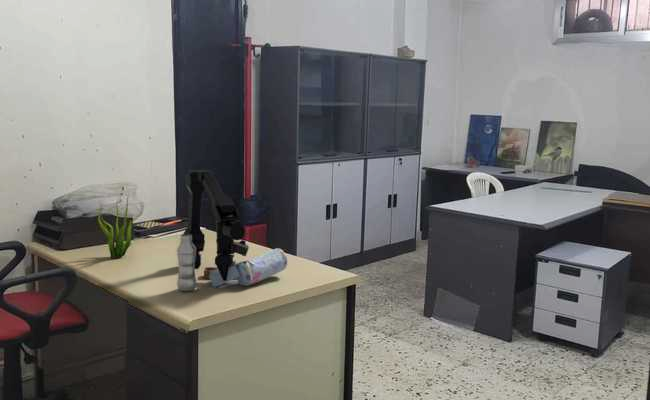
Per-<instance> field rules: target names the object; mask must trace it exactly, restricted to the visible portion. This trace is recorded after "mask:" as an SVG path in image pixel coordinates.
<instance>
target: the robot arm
mask: <svg viewBox="0 0 650 400" xmlns="http://www.w3.org/2000/svg"><path fill="white" fill-rule="evenodd" d="M184 182H185V186H186V188H187V190H188V192H189V195H188V197H189V198H188V215H187V218H188V219H187V227H186V229H185V230H184V232H183V233H182V235H183V234H191V235H192V241H191V242H192V243H193V244H194V246H195V247H196V256H195V269H199V268H200V266H201V265H202V254H201V252H204V248H205V245H206V244H205V243H206V241H205V236H206V235H205V234H204V233H203V231H202V230H201V220H202V219H201V218H202V217H201V216H202V202H203V201H202V200H203V193H204V192H205V191H206V193H207V195H208V197H209V198H210V200H211V203H212V206H211V210H212V214H213V216H214V218H215V219H213V220H214V222H215V224H216V226H215V229H216V241H215V243H216V255H215V258H214V265H215V267H217V268H218V270H219V272H220V274H221V276H222V278H223V280H224V281H226V280H227V275H228V269H229V267H230V266H231V265H232V264H233V261H234V257H235V254H237V255H241V256H243V257H246V256H247V255H248V251H249V245H248V244H246V243H247V242H246V240H243V238H244V236H245V234H246V230H245V228H244V226H243V225H242V224H240V221H241V220H240V213H239V211H238V209H237V205H235V203H234V201H233V200H232V199H231V198H230V197H229V196H227V195H225V194H224V192H223V190H222V188H221V187H220V186H219V185H220V184H219V183H218V181H217V180H216V178H215V175H214V172H213V170H210V169H209V170H204V169H203V170H202V169H201V170H200V169H199V170H188V171H187V172H186V173H185V174H184ZM181 242H182V241H181V240H180V243H181Z"/></svg>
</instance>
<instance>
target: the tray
mask: <svg viewBox="0 0 650 400" xmlns="http://www.w3.org/2000/svg"><path fill="white" fill-rule="evenodd" d="M214 269H217V266H213V267H211V266H209V267H207V266H205V267H204V270H203V279H204V280H210V277H209V274H210V271H212V270H214ZM235 279H236V278H235ZM236 280H237V279H236Z"/></svg>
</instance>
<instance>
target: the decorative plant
mask: <svg viewBox="0 0 650 400" xmlns="http://www.w3.org/2000/svg"><path fill="white" fill-rule="evenodd" d="M128 192H130V190H128ZM129 195H130V193H128V195H127V198H126V206H125V212H124V218H123V219H124V220H123V225H122V226H121V228H119V209H118V202H116V204H115V206H116V219H115V229H116V231H114V227H113V226H112V225H111V224H110V223H108V222H107V220H104V218H103V217H102V216H101V215H102V214H101V212H102V211H103V206H102V203H101V202H99V203H100V207H101V209H100V211H99V212H98V213H97V222H98V224H99V226H100V229H101V231H102V233H104V234H105V236H106V238H107V244H108V249H109V254H110V258H114V259H118V258H122V257H124V256H125V254H126V253H127V251H128V249H129V248H130V246H131V245H132V244H131V243H132V236H131V235H132V233H131V232H132V231H131V230H132V225H133V222H134V221H135V220H137V219H138V218H139V217H140V216H141V215H142V213H143V210H141V212H140V214H138V216H136V217H133V219H131V220H130V221H129V222H128V226H127V215H128V204H129ZM142 209H143V206H142ZM102 221H103V222H102ZM103 223H104V224H103ZM107 226H108V227H109V228H110V229H109V231H110V232H109V231H108V229H107ZM126 228H127V229H126ZM125 231H126V239H124V238H125V237H124V234H125ZM115 232H116V234H115ZM114 235H115V236H116V240H114ZM124 240H125V241H124Z"/></svg>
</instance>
